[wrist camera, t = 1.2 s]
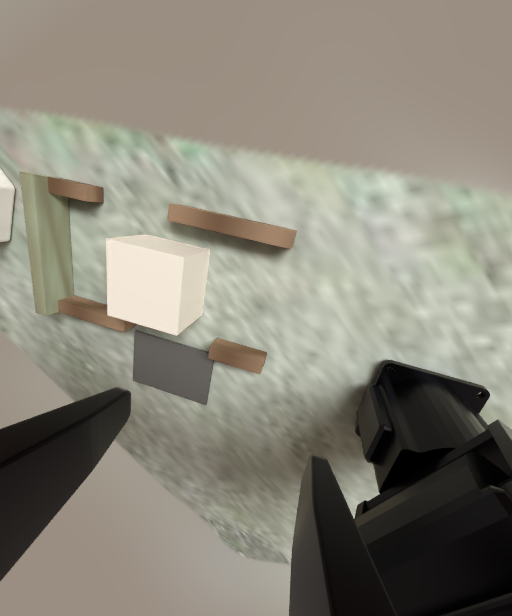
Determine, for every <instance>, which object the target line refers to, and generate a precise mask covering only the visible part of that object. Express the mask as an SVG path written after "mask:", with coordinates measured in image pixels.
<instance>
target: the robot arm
mask: <svg viewBox="0 0 512 616" xmlns="http://www.w3.org/2000/svg"><path fill="white" fill-rule="evenodd" d="M390 366H392V367H393V369H391V370H387V368H388V367H390ZM478 392H482V393H481V394H479V395H476V394H477V393H478ZM489 397H490V393H489V392H488V390H487V389H486V388H485V387H484V386H481V385H478V384H475V383H471V382H467V381H464V380H460V379H457V378H453V377H450V376H446V375H443V374H439V373H435V372H432V371H428V370H425V369H421V368H418V367H414V366H410V365H407V364H403V363H400V362H396V361H393V360H387V361H385V362H383V363H382V365H381V367H380V370H379V372H378V374H377V377H376V379H375V381H374V383H373V385H370V386H368V388H367V390H366V392H365V395H364V397H363V399H362V402H361V404H360V406H359V409H358V411H357V418H358V420H357V423H356V425H355V432H356V434H357V435H358V436H360V437H361V441H362V447H363V452H364V457H365V459H366V460H367V462H370V463H373V465H374V470H375V475H376V480H377V485H378V489H379V493H380V494H379V495H378V496H376V497H374V498H373V499H371V500H369V501H363V502H362V503H360V504H358V505H357V510H356V514H355V519H354V518H353V516H352V514H351V511H350V509H349V507H348V505H347V503H346V500H345V498H344V496H343V494H342V491H341V489H340V487H339V485H338V483H337V480H336V478H335V476H334V474H333V472H332V469H331V467H330V465H329V463H328V461H327V459H326V458H323V457H320V456H318V455H315V454H312V455H310V457H309V460H308V463H307V465H306V468H305V471H304V473H303V477H302V481H301V488H300V495H299V502H298V509H297V516H296V523H295V530H294V538H293V546H292V559H291V581H290V582H291V583H290V605H289V616H512V430H511V429H510V428H509V427H507V426H506V425H505V424H504V423H502V422H501V421H500V420H496V421H495V422H493V423H491V424H490V425H487V423H486V422H485V421H484V420H483V418H482V417H481V416H480V415H479V413H480V411H481V410H482V408H483V407H484V405H485V403H486V402H487V400H488V399H489ZM130 412H131V393H130V391H128V390H125V389H122V388H119V387H116V388H113V389H110V390H107V391H104V392H102V393H99V394H96V395H93V396H90V397H88V398H85V399H82V400H79V401H77V402H74V403H71V404H68V405H66V406H63V407H60V408H57V409H55V410H52V411H49V412H46V413H44V414H41V415H38V416H35V417H32V418H30V419H27V420H24V421H21V422H18V423H16V424H13V425H10V426H7V427H5V428H2V429H0V581H1V580H2V579H3V578H4V576H5V575H6V574H7V573H8V572H9V571H10V569H11V568H12V567H13V566H14V564H15V563H16V562H17V561H18V560H19V559H20V557H21V556H22V555H23V554H24V552H25V551H26V550H27V549H28V548H29V546H30V545H31V544H32V543H33V542H34V540H35V539H36V538H37V537H38V536H39V534H40V533H41V532H42V531H43V530H44V528H45V527H46V526H47V525H48V524H49V522H50V521H51V520H52V519H53V518H54V516H55V515H56V514H57V513H58V512H59V510H60V509H61V508H62V507H63V506H64V504H65V503H66V502H67V501H68V500H69V498H70V497H71V496H72V495H73V494H74V492H75V491H76V490H77V489H78V487H79V486H80V485H81V484H82V483H83V482H84V480H85V479H86V478H87V477H88V475H89V474H90V473H91V472H92V470H93V469H94V468H95V466H96V465H97V464H98V462H99V461H100V459H101V458H102V457H103V455H104V454H105V452H106V450H107V449H108V448H109V446H110V445H111V444H112V442H113V441H114V439H115V438H116V436H117V435H118V433H119V432H120V431H121V429H122V428H123V426H124V425H125V423H126V422H127V420H128V418H129V416H130Z"/></svg>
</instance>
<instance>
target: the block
mask: <svg viewBox="0 0 512 616" xmlns="http://www.w3.org/2000/svg"><path fill="white" fill-rule="evenodd" d="M106 254H107V315H108V316H112V317H115V318H119V319H122V320H125V321H129V322H132V323H136V324H139V325H142V326H146V327H149V328H153V329H156V330H159V331H163V332H166V333H170V334H173V335H176V336H177V335H178V334H180V333H181V332H182V331H183V330H184V329H186V328H187V327H188V326H189V325H190V324H192V323H193V322H194V321H195V320H197V319H198V318H199V317H200V316H201V315H202V313H203V305H204V297H205V289H206V281H207V273H208V265H209V257H210V249H205V248H201V247H197V246H193V245H189V244H184V243H180V242H176V241H172V240H167V239H163V238H159V237H155V236H151V235H146V234H145V235H135V236H125V237H115V238H106Z"/></svg>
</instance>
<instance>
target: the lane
mask: <svg viewBox="0 0 512 616" xmlns="http://www.w3.org/2000/svg"><path fill="white" fill-rule="evenodd" d="M20 180H21V189H22V197H23V206H24V215H25V223H26V232H27V240H28V249H29V257H30V266H31V275H32V283H33V292H34V300H35V309H36V313H38V314H42V315H45V316H49V315H51V314H54V313H57V312H61V313H64V314H67V315H70V316H73V317H77V318H80V319H83V320H86V321H90V322H93V323H96V324H99V325H102V326H106V327H109V328H112V329H115V330H119V331H122V332H125V331H127V330H129V329H130V328H132V327H134V326H136V325H137V324H136V323H132V322H129V321H125V320H122V319H119V318H115V317H112V316H108V315H107V305H105V304H102V303H98V302H95V301H91V300H88V299H85V298H81V297H78V296H75V295H74V290H73V273H72V255H71V238H70V221H69V204H68V197H70V198H74V199H78V200H82V201H88V202H103V187H98V186H94V185H89V184H85V183H80V182H76V181H71V180H67V179H62V178H58V177H52V176H46V175H39V174H32V173H26V172H20ZM168 221H172V222H177V223H181V224H185V225H190V226H194V227H198V228H202V229H207V230H211V231H215V232H220V233H224V234H228V235H232V236H237V237H241V238H245V239H249V240H254V241H258V242H262V243H267V244H271V245H275V246H279V247H284V248H288V249H291V248H292V247H293V244H294V240H295V236H296V232H297V231H296V230H292V229H287V228H283V227H278V226H274V225H269V224H265V223H260V222H256V221H251V220H247V219H242V218H238V217H233V216H229V215H224V214H220V213H215V212H211V211H206V210H202V209H197V208H193V207H188V206H184V205H177V204H169V210H168ZM266 355H267V352H264V351H260V350H257V349H253V348H250V347H247V346H243V345H240V344H237V343H233V342H230V341H226V340H223V339H220V338H217V339H216V340H215V341H214V342H213V343H212V345H211V346H210V349H209V356H208V358H209V359H212V360H215V361H219V362H222V363H225V364H228V365H232V366H235V367H238V368H241V369H244V370H248V371H251V372H254V373H257V374H261V371H262V368H263V366H264V363H265V359H266Z"/></svg>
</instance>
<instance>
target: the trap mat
mask: <svg viewBox="0 0 512 616" xmlns="http://www.w3.org/2000/svg"><path fill="white" fill-rule="evenodd" d="M208 356H209V352H206V351H202V350H199V349H196V348H193V347H189V346H186V345H183V344H179V343H176V342H173V341H170V340H166V339H163V338H160V337H157V336H153V335H150V334H147V333H144V332H140V331H137V330H136V331H135V341H134V372H133V381H136V382H139V383H142V384H145V385H148V386H151V387H154V388H157V389H160V390H163V391H166V392H169V393H171V394H174V395H177V396H180V397H183V398H186V399H189V400H192V401H195V402H198V403H201V404H204V405H206V404H207V399H208V393H209V387H210V381H211V374H212V368H213V362H214V360H212V359H209V358H208Z"/></svg>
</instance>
